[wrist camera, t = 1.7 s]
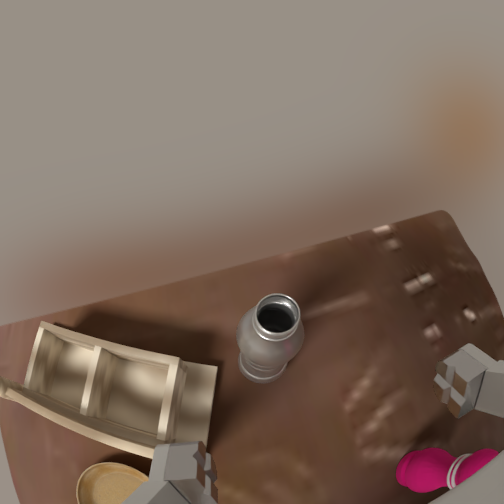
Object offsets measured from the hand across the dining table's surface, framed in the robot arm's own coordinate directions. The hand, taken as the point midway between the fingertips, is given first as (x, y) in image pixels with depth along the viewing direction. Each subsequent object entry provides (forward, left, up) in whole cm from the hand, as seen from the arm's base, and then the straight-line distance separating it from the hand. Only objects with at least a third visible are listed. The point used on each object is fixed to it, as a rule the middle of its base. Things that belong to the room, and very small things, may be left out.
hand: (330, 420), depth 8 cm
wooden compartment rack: (+1, +22, -32) cm, 39 cm away
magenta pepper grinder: (-8, -24, -32) cm, 41 cm away
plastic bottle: (+9, +1, -32) cm, 34 cm away
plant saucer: (-17, +17, -33) cm, 41 cm away
